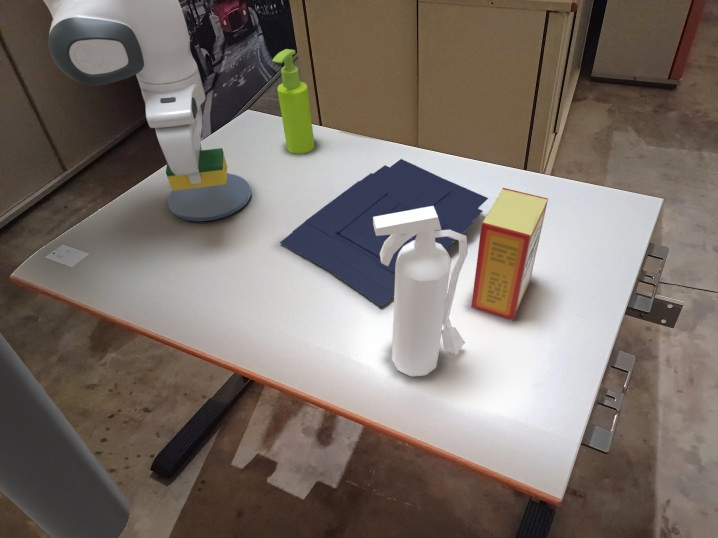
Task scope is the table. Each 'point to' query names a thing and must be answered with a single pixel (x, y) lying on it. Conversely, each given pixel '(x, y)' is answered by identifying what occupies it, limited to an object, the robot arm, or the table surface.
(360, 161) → the table surface
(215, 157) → the sponge
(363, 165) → the table surface
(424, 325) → the fire extinguisher
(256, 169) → the table surface
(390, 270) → the folded navy cloth
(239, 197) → the plate
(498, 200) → the baking soda box
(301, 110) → the soap dispenser
